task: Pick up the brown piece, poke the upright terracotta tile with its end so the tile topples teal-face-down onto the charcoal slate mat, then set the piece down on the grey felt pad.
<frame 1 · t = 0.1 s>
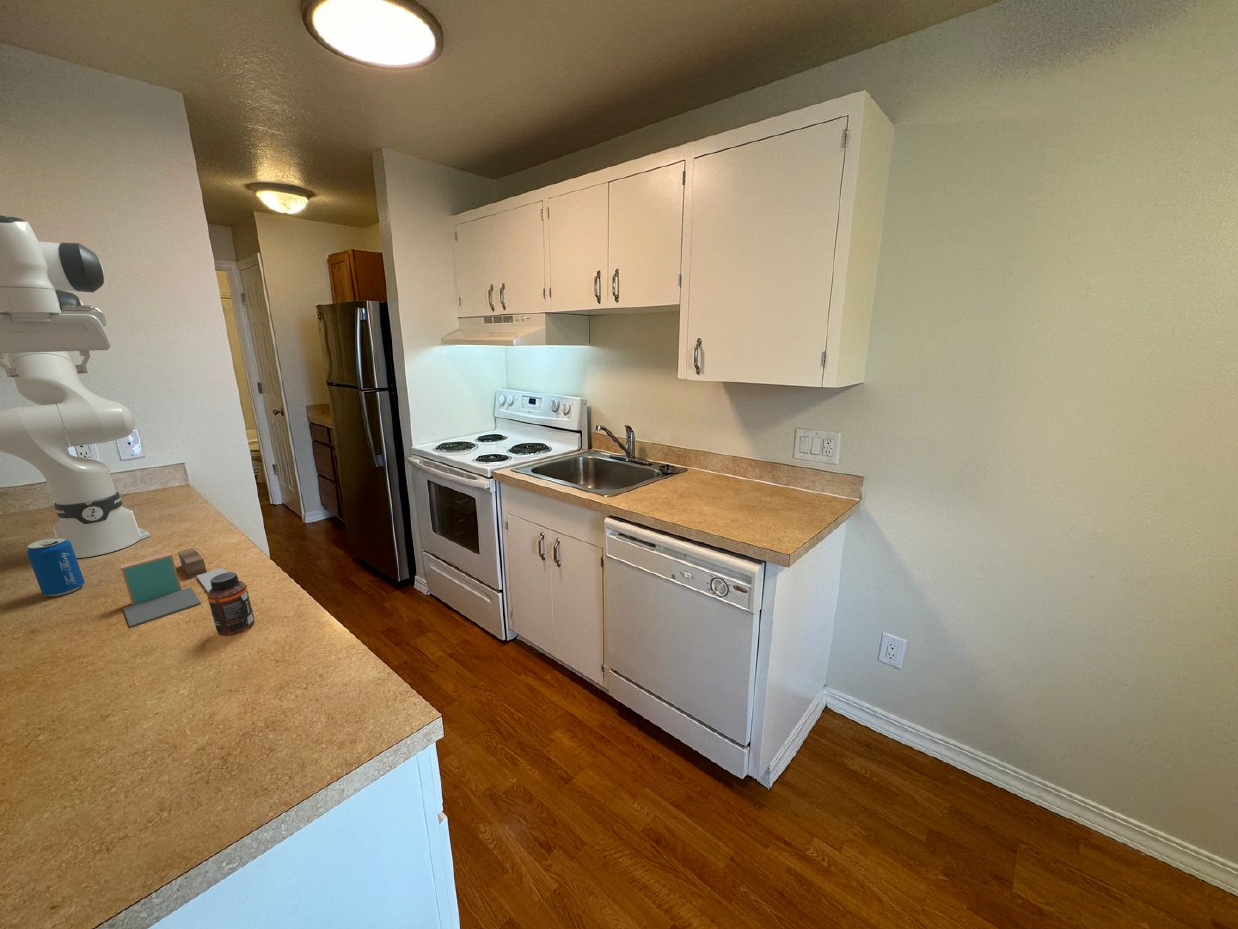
hand: (49, 375, 99), 48 cm above the countertop, fingers open, 8 cm apart
brown piece: (194, 570, 119), on the countertop
supplement bottle: (237, 629, 95), on the countertop
pad: (216, 581, 113), on the countertop
tile: (157, 597, 107), on the countertop
mat: (162, 606, 103), on the countertop
beverage can: (65, 591, 110), on the countertop
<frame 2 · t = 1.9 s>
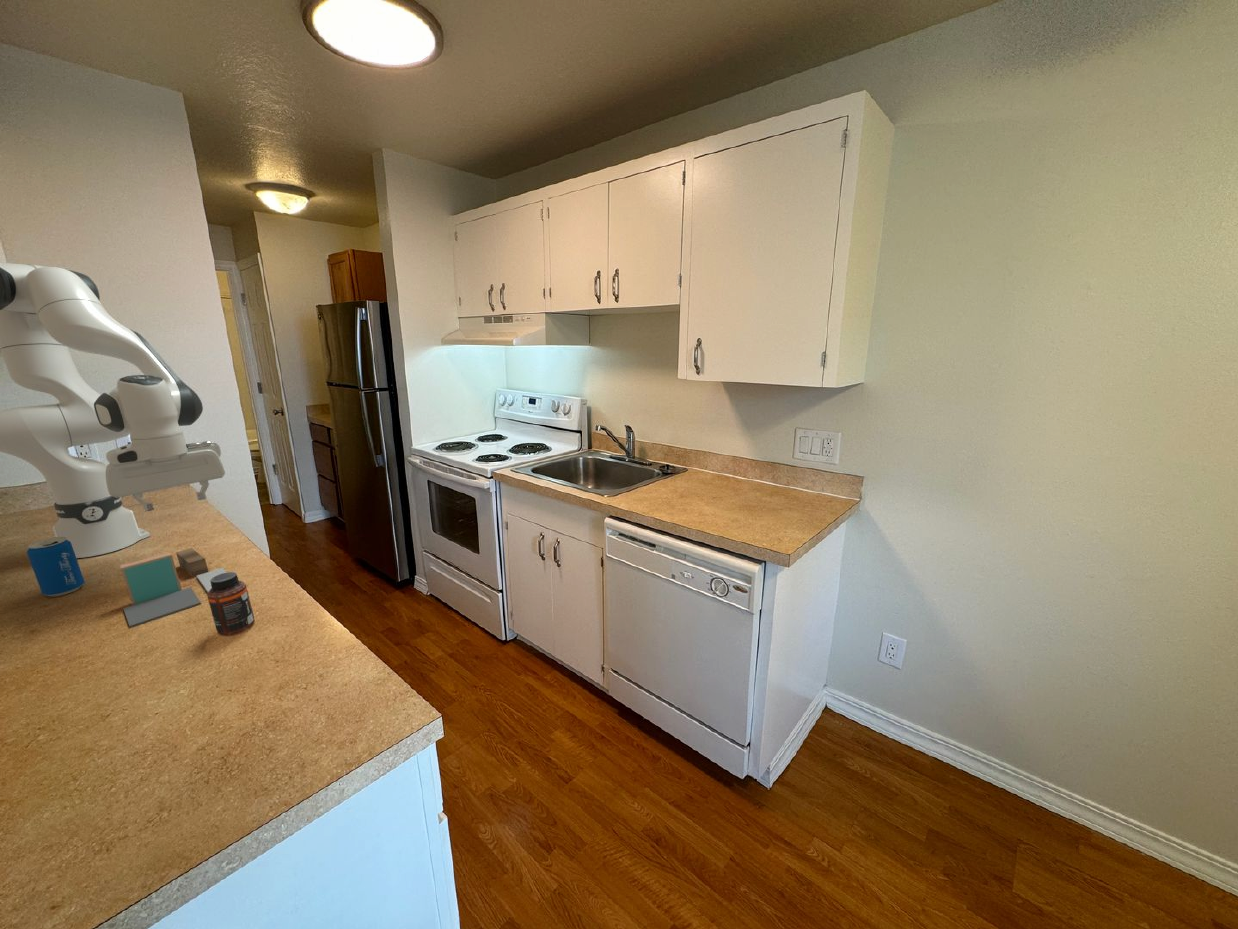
hand: (176, 504, 114), 17 cm above the countertop, fingers open, 8 cm apart
nothing on the countertop moved.
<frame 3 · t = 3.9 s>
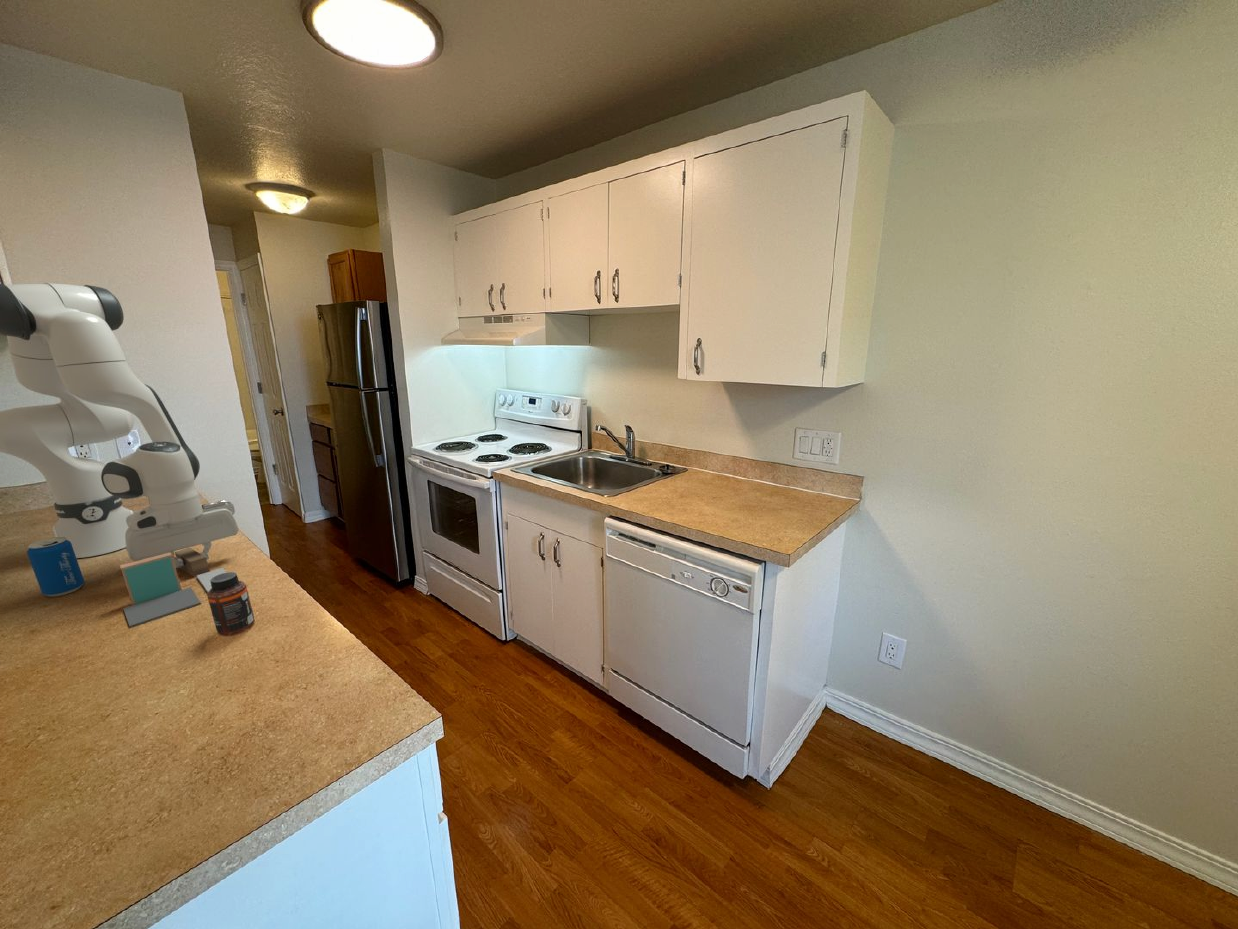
hand: (192, 563, 118), 2 cm above the countertop, fingers closed on brown piece, 3 cm apart
brown piece: (194, 569, 119), on the countertop, touching gripper
everything else where it was.
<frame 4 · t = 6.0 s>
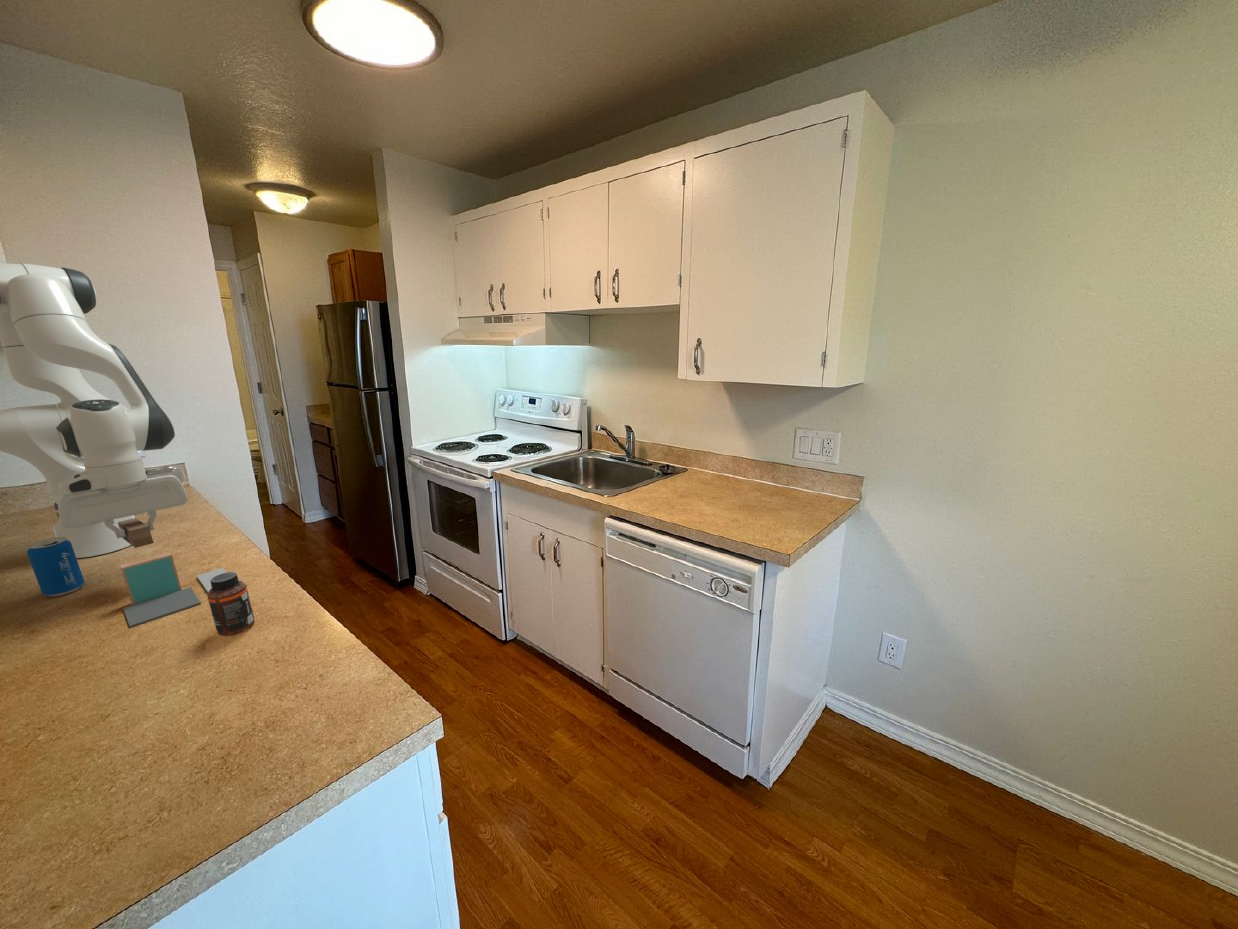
hand: (135, 533, 109), 12 cm above the countertop, fingers closed on brown piece, 3 cm apart
brown piece: (138, 540, 110), point 11 cm above the countertop, touching gripper
everything else where it was.
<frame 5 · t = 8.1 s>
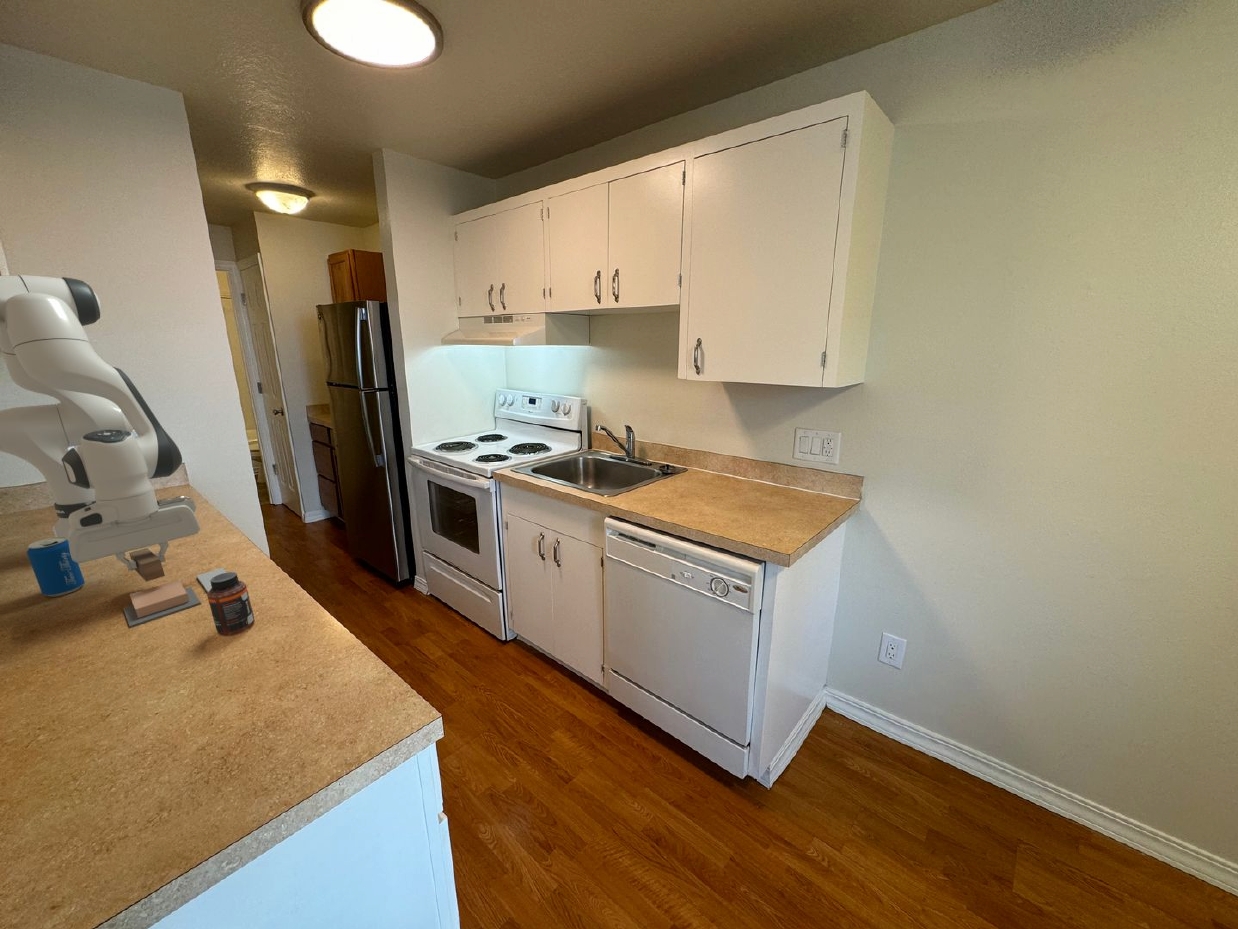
hand: (147, 565, 107), 7 cm above the countertop, fingers closed on brown piece, 3 cm apart
brown piece: (149, 572, 107), point 5 cm above the countertop, touching gripper
tile: (156, 590, 106), point 2 cm above the countertop, tilted 90°, touching mat
everything else where it was.
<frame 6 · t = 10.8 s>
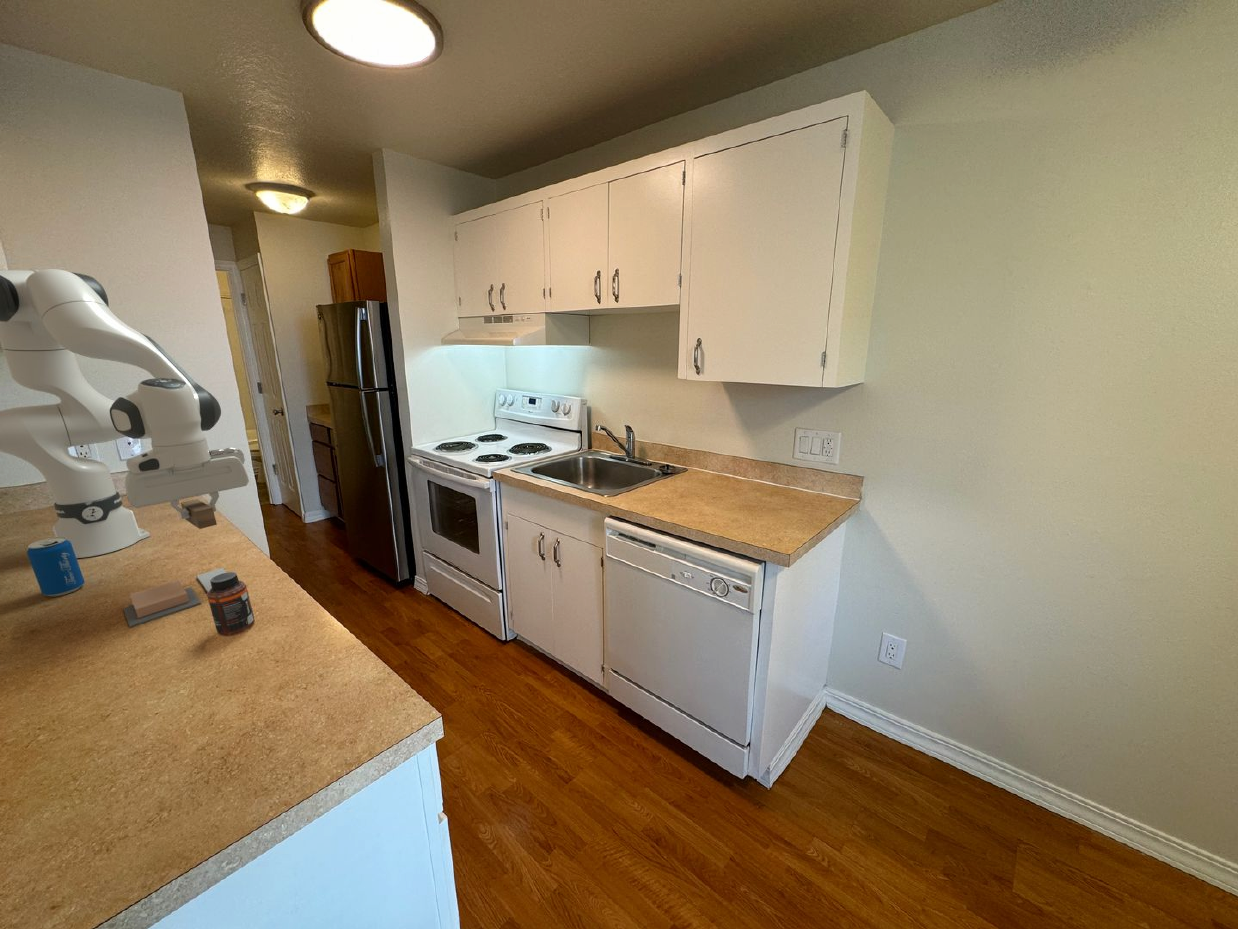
hand: (198, 514, 108), 17 cm above the countertop, fingers closed on brown piece, 3 cm apart
brown piece: (200, 522, 109), point 15 cm above the countertop, touching gripper
everything else where it was.
when the fingers open (3 cm above the countertop, at t = 13.0 s): brown piece stays where it is, resting on pad.
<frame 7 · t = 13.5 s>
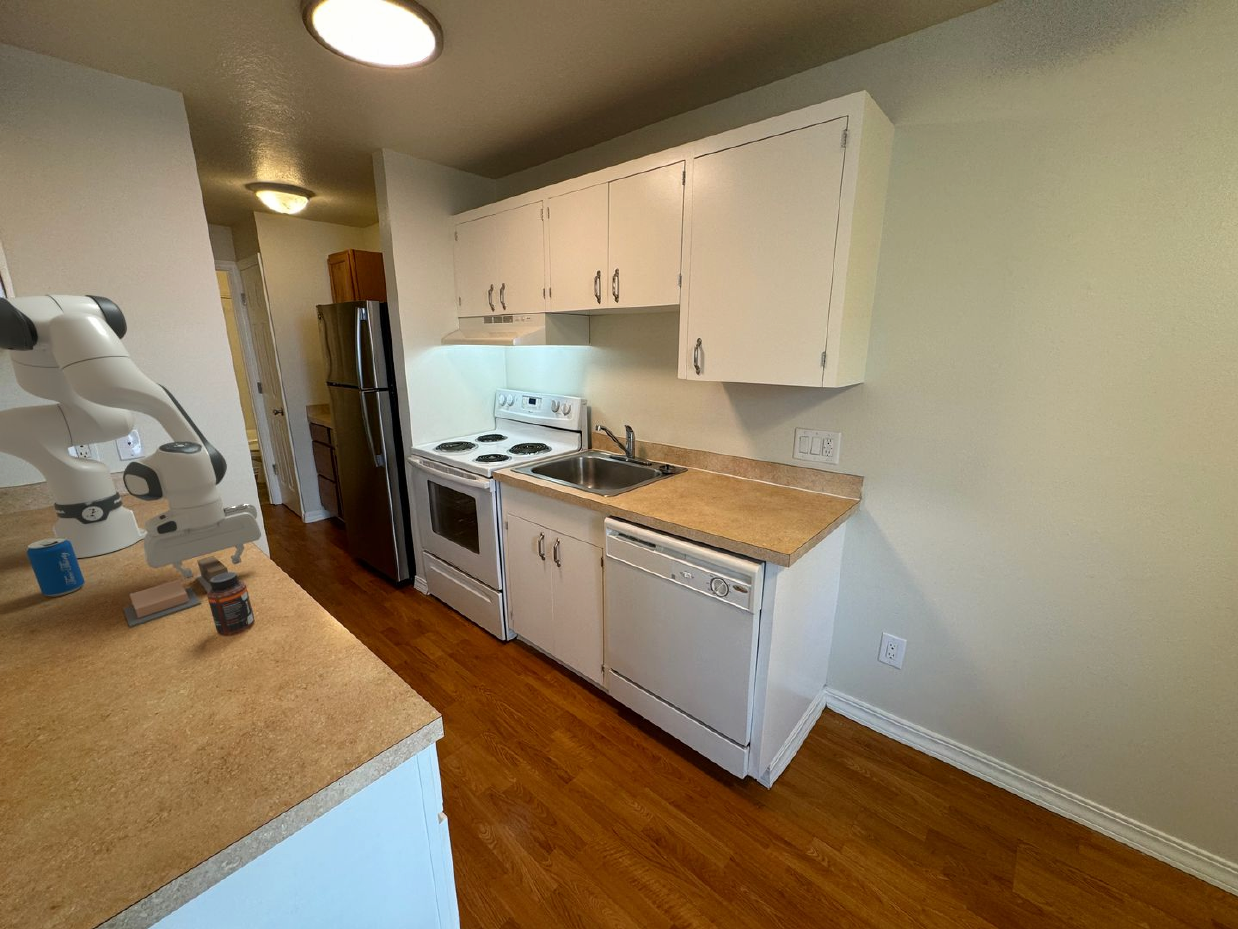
hand: (213, 569, 112), 3 cm above the countertop, fingers open, 8 cm apart
brown piece: (215, 579, 113), point 1 cm above the countertop, touching pad
everything else where it was.
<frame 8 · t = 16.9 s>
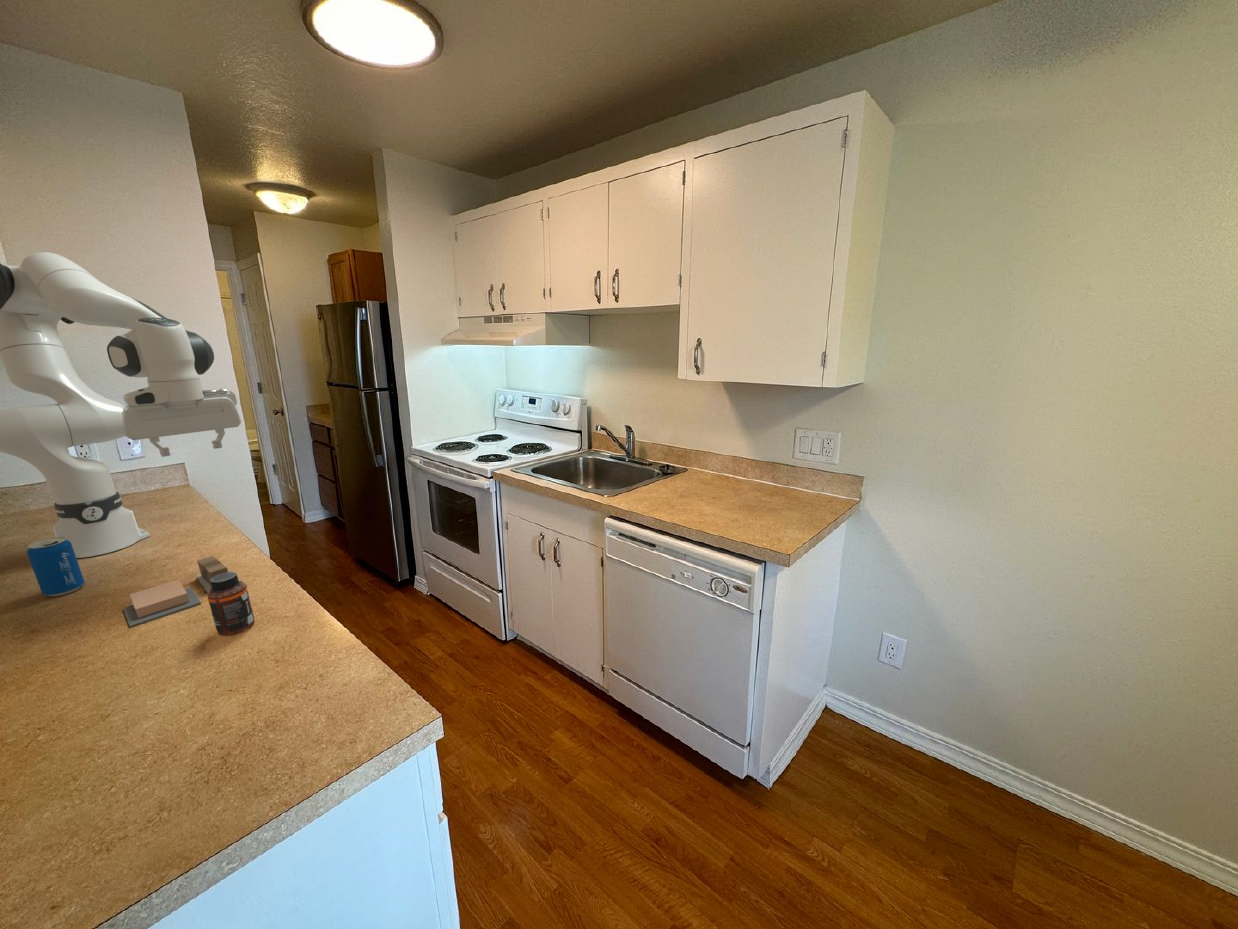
hand: (192, 451, 113), 29 cm above the countertop, fingers open, 8 cm apart
nothing on the countertop moved.
at the end: tile tilted 90°; tile inside the target area (2.2 cm from its centre), point 1.5 cm above the countertop; brown piece inside the target area (0.0 cm from its centre), point 0.6 cm above the countertop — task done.
